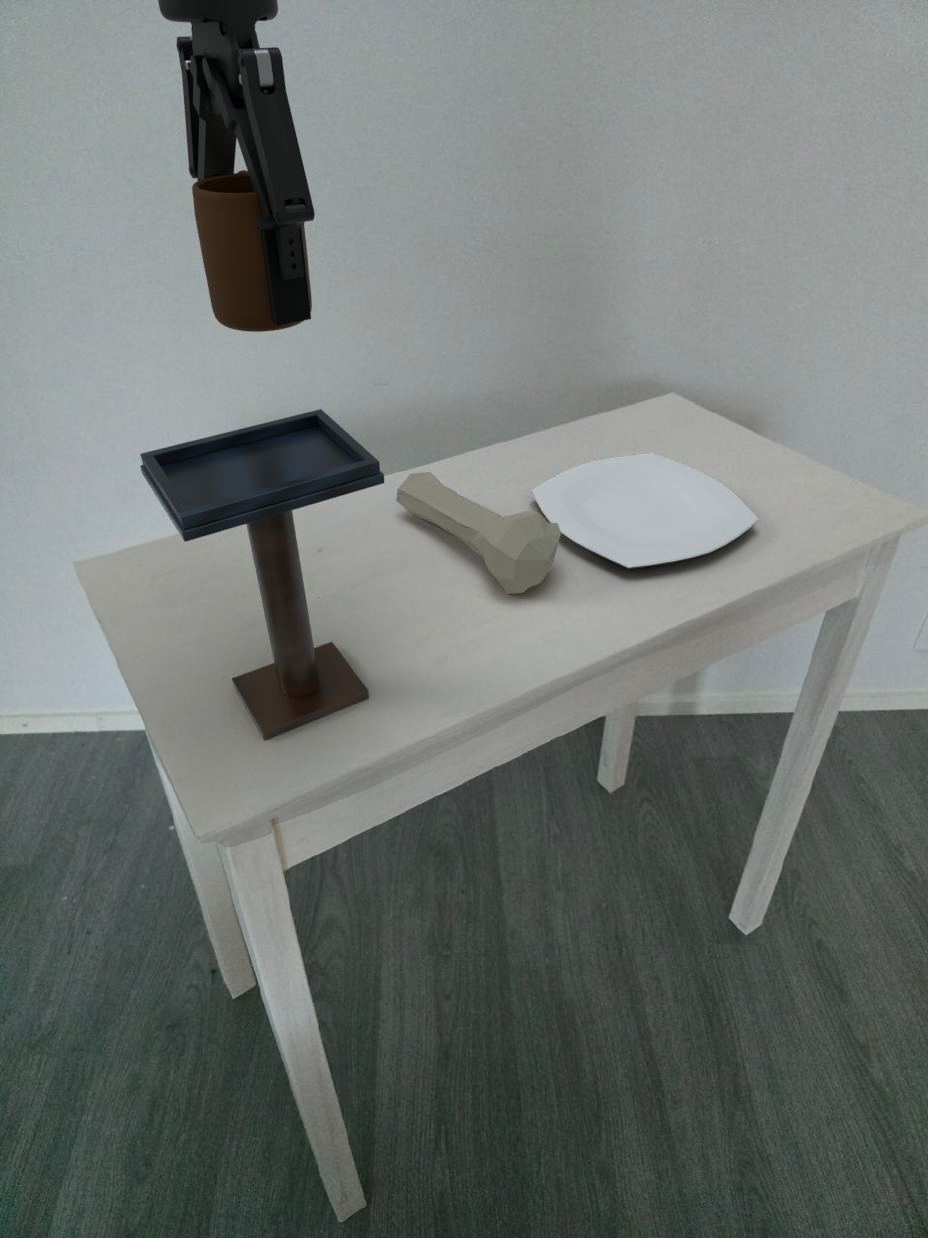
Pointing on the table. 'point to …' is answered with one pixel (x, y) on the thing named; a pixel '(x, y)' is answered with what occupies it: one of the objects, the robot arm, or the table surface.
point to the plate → (643, 510)
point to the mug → (235, 252)
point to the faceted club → (487, 531)
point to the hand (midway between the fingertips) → (261, 298)
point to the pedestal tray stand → (271, 544)
